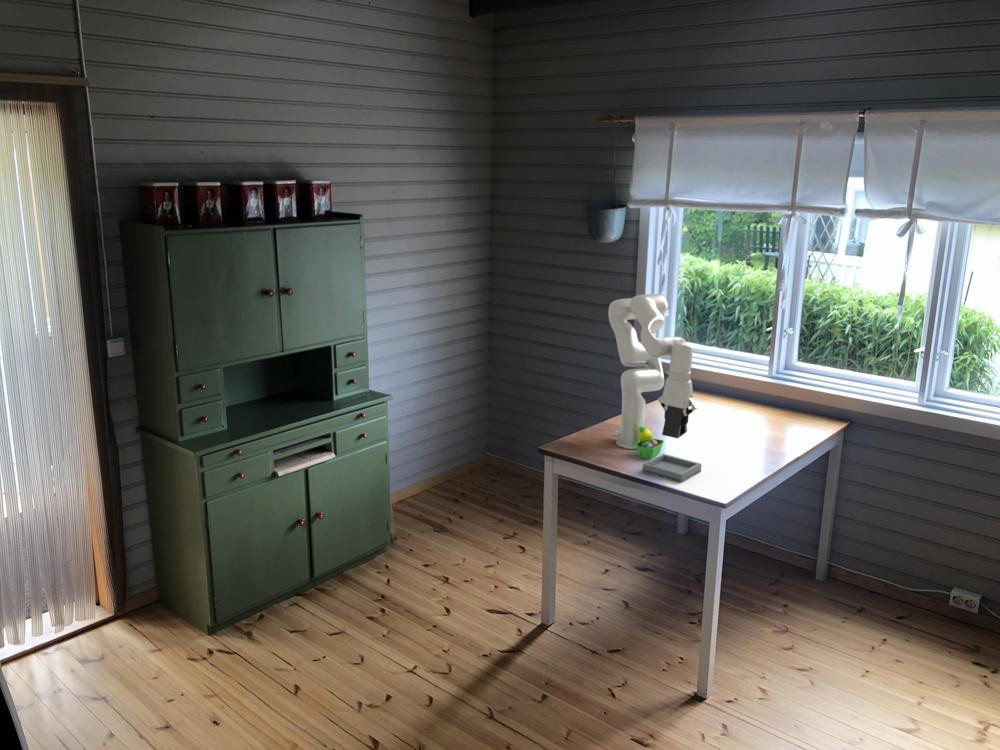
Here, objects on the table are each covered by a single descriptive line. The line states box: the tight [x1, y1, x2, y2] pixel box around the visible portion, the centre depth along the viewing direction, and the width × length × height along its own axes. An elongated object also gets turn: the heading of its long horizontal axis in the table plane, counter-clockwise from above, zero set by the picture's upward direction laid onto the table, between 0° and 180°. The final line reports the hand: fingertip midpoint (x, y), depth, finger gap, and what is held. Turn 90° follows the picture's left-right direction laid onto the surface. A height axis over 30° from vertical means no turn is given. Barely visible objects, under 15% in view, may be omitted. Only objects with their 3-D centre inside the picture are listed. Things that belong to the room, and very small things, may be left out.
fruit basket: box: [636, 426, 665, 460], centre depth 313 cm, size 11×9×11 cm
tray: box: [642, 453, 702, 483], centre depth 297 cm, size 16×15×3 cm
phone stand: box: [661, 406, 688, 439], centre depth 292 cm, size 9×6×12 cm, turn 145°
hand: (675, 422), depth 293 cm, fingers closed on phone stand, 6 cm apart
